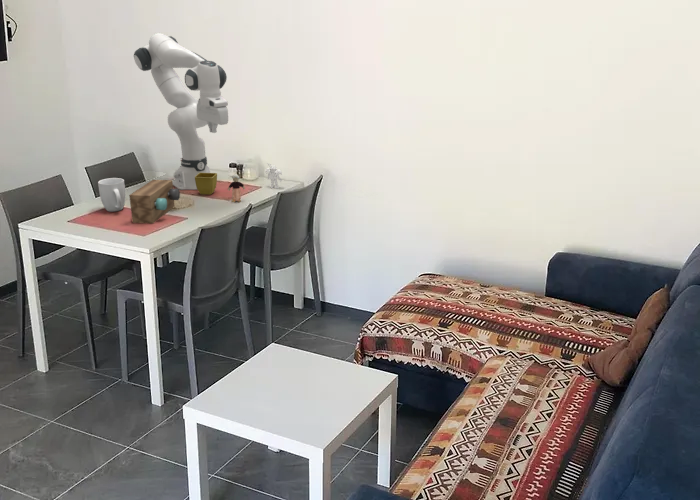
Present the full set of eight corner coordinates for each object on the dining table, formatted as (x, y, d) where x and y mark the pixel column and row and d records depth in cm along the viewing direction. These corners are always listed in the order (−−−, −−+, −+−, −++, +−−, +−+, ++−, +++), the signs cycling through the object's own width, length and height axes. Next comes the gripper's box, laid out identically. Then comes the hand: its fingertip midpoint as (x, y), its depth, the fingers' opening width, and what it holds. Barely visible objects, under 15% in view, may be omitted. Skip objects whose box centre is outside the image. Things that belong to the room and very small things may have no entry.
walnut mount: (174, 206, 340) (172, 180, 335) (152, 223, 316) (150, 195, 312) (155, 205, 341) (152, 179, 337) (132, 222, 318) (129, 195, 314)
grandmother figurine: (230, 203, 343) (228, 176, 338) (228, 201, 346) (226, 174, 342) (246, 201, 345) (245, 174, 341) (244, 199, 349) (242, 172, 344)
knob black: (180, 198, 335) (179, 187, 333) (176, 201, 331) (175, 190, 329) (161, 197, 336) (160, 186, 335) (157, 200, 332) (156, 189, 330)
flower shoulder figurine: (264, 187, 367) (263, 163, 363) (269, 185, 371) (267, 161, 366) (280, 189, 363) (278, 165, 359) (284, 187, 366) (283, 163, 362)
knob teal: (167, 208, 321) (166, 196, 320) (163, 211, 317) (162, 200, 315) (148, 207, 322) (147, 196, 321) (143, 211, 318) (142, 199, 316)
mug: (133, 212, 331) (130, 183, 327) (108, 216, 326) (104, 187, 321) (122, 204, 343) (119, 176, 339) (98, 208, 337) (94, 180, 333)
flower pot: (218, 191, 362) (217, 172, 359) (214, 196, 354) (212, 177, 351) (200, 190, 363) (199, 172, 360) (195, 195, 355) (194, 177, 352)
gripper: (191, 98, 329) (194, 130, 334) (217, 103, 314) (219, 136, 319) (204, 96, 333) (206, 128, 338) (229, 102, 318) (232, 134, 323)
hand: (213, 132), depth 328 cm, fingers closed
